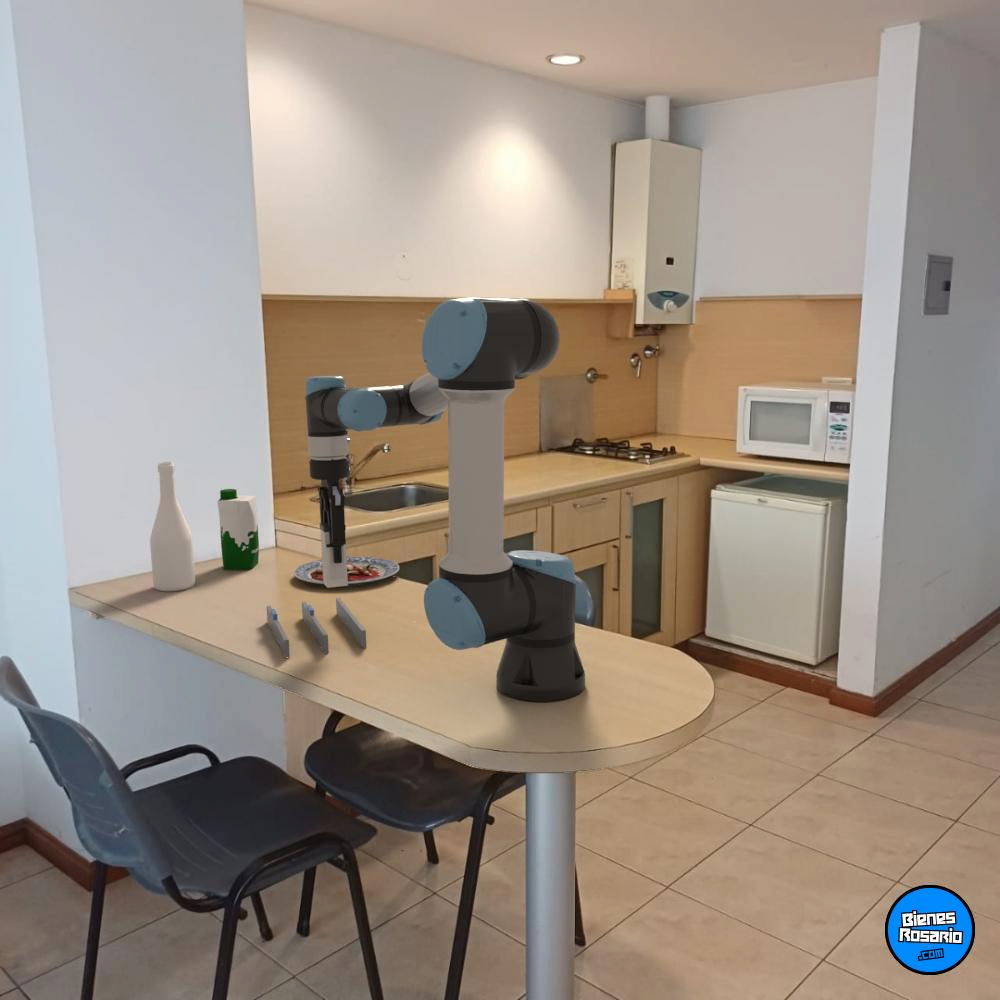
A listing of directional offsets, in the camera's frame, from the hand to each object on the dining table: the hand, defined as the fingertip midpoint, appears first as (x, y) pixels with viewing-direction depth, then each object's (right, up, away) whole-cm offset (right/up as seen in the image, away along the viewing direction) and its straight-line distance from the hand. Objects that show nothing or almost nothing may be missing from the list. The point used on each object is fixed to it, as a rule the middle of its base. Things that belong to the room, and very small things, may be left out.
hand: (335, 575), depth 189 cm
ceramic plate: (-5, -5, +49) cm, 50 cm away
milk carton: (-34, -3, +60) cm, 69 cm away
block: (0, -2, 0) cm, 2 cm away
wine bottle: (-45, -6, +41) cm, 62 cm away
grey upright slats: (-5, -12, +5) cm, 14 cm away
